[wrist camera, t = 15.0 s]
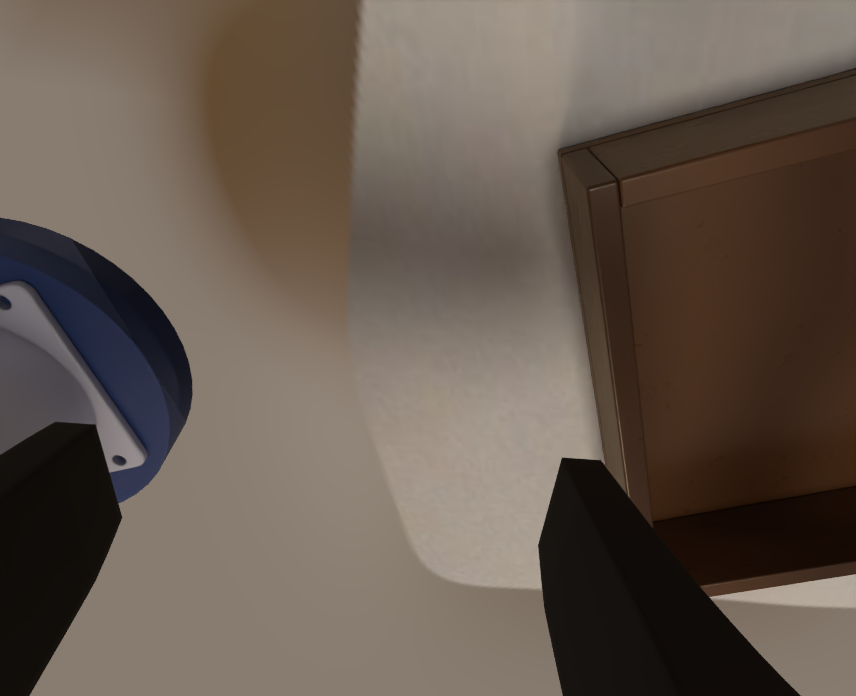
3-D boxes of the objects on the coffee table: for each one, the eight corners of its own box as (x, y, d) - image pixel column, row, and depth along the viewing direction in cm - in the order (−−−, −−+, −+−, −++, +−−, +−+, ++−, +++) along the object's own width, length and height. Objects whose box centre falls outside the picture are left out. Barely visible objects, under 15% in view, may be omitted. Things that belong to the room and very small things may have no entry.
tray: (615, 529, 23) (641, 608, 20) (556, 149, 16) (586, 188, 13) (951, 470, 22) (1034, 547, 19) (1075, 8, 14) (1252, 14, 11)
